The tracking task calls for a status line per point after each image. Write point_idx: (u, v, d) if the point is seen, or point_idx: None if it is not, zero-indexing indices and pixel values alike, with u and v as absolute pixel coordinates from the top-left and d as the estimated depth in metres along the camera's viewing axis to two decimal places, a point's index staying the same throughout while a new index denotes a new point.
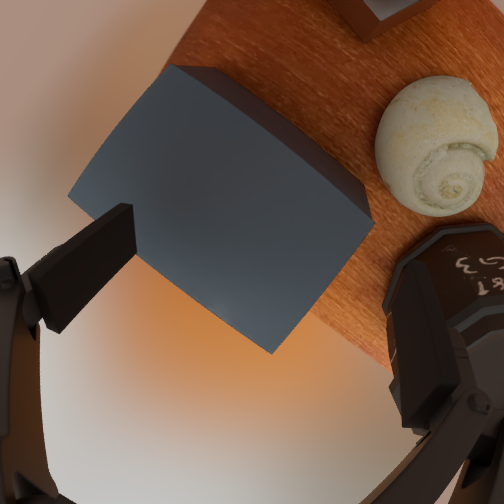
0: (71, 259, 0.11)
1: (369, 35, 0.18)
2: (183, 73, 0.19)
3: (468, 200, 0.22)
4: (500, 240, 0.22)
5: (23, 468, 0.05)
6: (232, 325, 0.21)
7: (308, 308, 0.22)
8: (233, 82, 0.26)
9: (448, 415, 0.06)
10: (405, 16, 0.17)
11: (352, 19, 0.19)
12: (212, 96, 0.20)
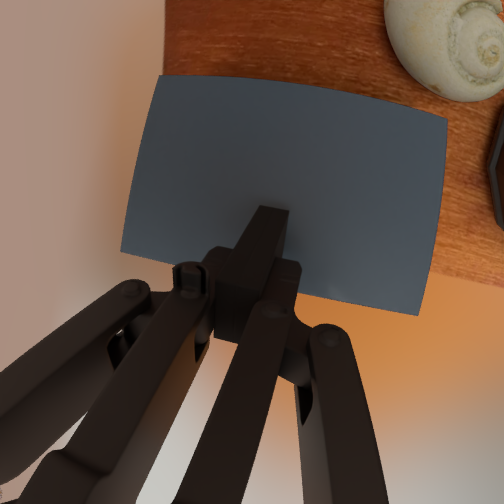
0: None
1: None
2: (176, 77, 0.18)
3: None
4: None
5: None
6: (361, 303, 0.17)
7: (432, 243, 0.16)
8: None
9: (244, 331, 0.09)
10: None
11: None
12: (216, 81, 0.17)
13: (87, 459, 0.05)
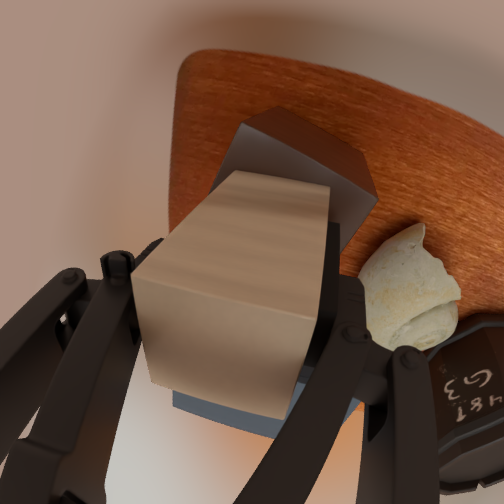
0: None
1: None
2: None
3: (445, 337, 0.25)
4: (488, 343, 0.24)
5: (76, 485, 0.05)
6: None
7: None
8: None
9: (323, 352, 0.08)
10: None
11: None
12: None
13: (50, 443, 0.05)
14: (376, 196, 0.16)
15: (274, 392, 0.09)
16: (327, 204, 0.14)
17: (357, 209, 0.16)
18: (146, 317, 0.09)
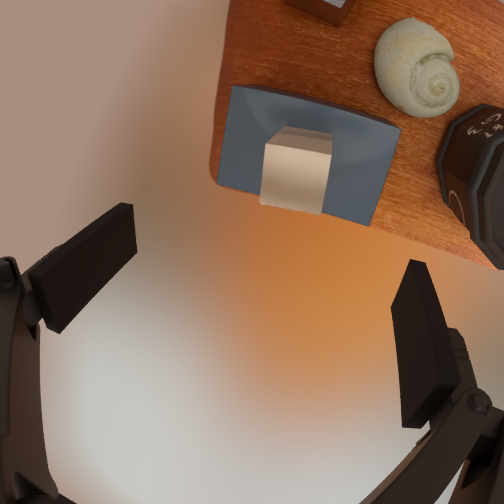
0: (71, 259, 0.11)
1: (339, 20, 0.28)
2: (243, 88, 0.31)
3: (453, 91, 0.27)
4: (492, 108, 0.27)
5: (23, 468, 0.05)
6: (339, 216, 0.35)
7: (379, 193, 0.33)
8: (271, 88, 0.37)
9: (448, 415, 0.06)
10: None
11: (324, 15, 0.29)
12: (268, 95, 0.30)
13: None
14: None
15: (317, 194, 0.24)
16: (332, 137, 0.29)
17: None
18: (268, 162, 0.24)
